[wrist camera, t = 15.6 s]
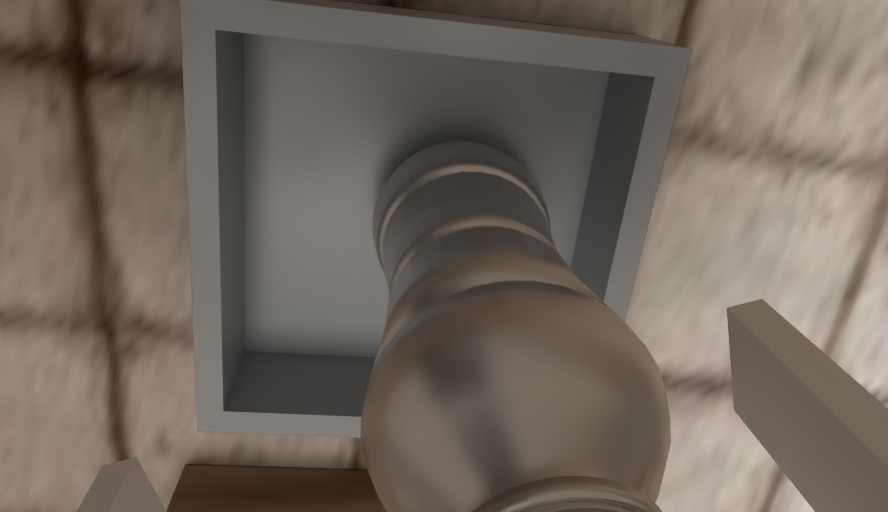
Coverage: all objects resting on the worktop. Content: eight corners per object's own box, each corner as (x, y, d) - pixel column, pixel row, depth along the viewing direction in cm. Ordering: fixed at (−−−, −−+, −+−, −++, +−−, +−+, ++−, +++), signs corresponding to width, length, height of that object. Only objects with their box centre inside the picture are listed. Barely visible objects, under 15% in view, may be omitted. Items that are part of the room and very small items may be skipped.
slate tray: (218, -14, 24) (179, -10, 20) (637, 34, 26) (691, 48, 21) (225, 361, 30) (197, 431, 26) (563, 378, 32) (593, 445, 28)
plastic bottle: (534, 267, 29) (790, 776, 11) (379, 282, 29) (373, 832, 10) (533, 121, 26) (869, 462, 8) (363, 135, 26) (315, 523, 8)
